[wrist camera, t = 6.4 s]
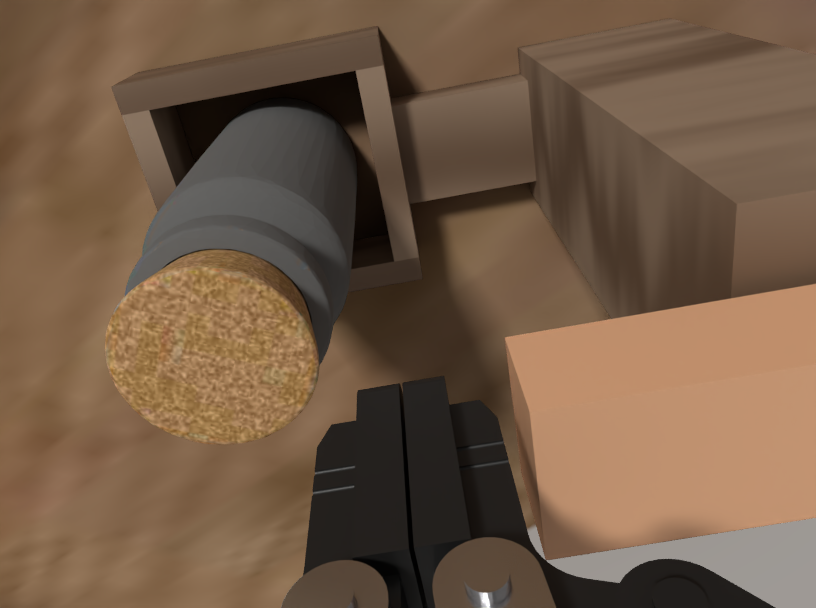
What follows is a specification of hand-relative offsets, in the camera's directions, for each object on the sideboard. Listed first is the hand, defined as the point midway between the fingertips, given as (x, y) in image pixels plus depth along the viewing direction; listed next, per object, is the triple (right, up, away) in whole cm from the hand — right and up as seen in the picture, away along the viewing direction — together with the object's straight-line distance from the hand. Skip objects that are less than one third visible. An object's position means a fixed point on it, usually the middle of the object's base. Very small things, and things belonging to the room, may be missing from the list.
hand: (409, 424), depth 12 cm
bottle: (-5, +8, +17) cm, 19 cm away
